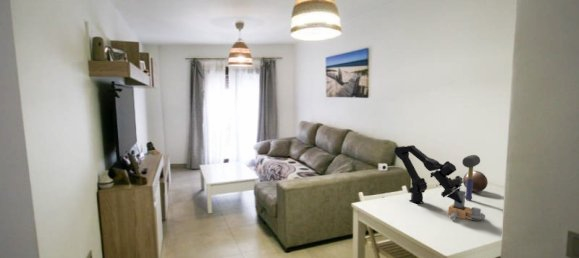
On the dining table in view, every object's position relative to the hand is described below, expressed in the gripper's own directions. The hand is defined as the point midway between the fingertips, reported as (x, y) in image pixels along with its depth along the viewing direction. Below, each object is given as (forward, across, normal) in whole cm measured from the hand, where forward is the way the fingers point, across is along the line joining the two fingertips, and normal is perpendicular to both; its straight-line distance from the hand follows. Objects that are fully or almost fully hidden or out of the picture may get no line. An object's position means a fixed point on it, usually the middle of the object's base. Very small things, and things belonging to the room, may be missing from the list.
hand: (462, 202), depth 175 cm
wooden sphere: (+1, +55, +11) cm, 56 cm away
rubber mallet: (+3, +32, +9) cm, 33 cm away
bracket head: (+8, -4, +3) cm, 9 cm away
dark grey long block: (+4, 0, +6) cm, 7 cm away
